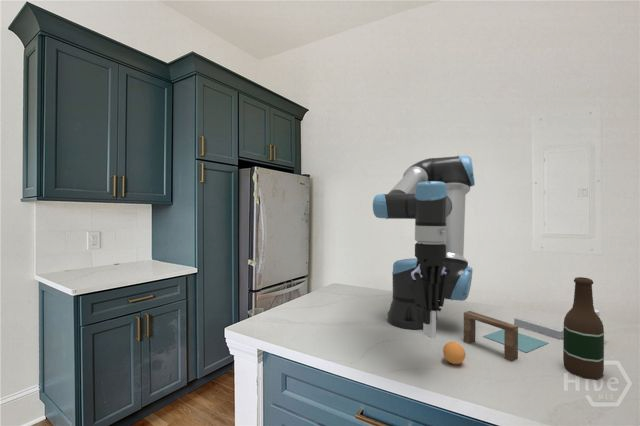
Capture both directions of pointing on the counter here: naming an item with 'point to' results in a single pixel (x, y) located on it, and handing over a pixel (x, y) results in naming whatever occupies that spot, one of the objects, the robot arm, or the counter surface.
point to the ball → (454, 352)
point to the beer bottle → (583, 334)
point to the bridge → (510, 329)
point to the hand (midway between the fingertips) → (429, 335)
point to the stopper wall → (539, 328)
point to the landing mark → (524, 341)
